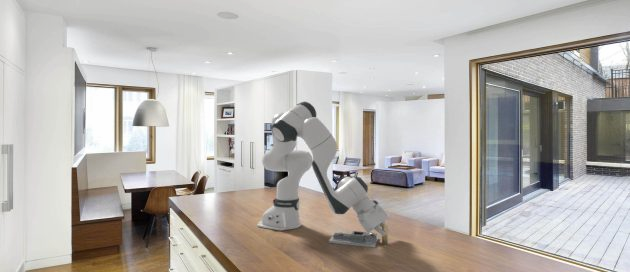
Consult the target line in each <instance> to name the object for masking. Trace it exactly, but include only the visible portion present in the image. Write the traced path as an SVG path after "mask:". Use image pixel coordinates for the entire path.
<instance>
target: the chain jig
mask: <svg viewBox="0 0 630 272" xmlns="http://www.w3.org/2000/svg"><path fill="white" fill-rule="evenodd" d="M378 240H379V236H378V233H375V232H369V233H368V232H367V231H359V230H353V231H352V232H351V233H346V232H342V231H341V232H334V233H333V235H332V236H331V237H330V239H329V240H328V244H329V243H330V244H340V245H348V246H349V245H350V246H355V247H356V246H357V247H358V246H359V247H367V248H376V247H377V246H376V245H377V243H378Z"/></svg>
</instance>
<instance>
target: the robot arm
mask: <svg viewBox="0 0 630 272" xmlns="http://www.w3.org/2000/svg"><path fill="white" fill-rule="evenodd" d="M271 136H272V147H271V148H270V149H269V150H267V151H266V152H264V154H263V156H262V161H261V162H262V165H263V168H264V169H265V170H267V171H272V172H287V173H288V175H287V176H285V177H284V178H281V179H280V180H278V181H277V183H276V197H275V198H274V199H273V200H272V201H271V203H272V204H273V205H271V206H270V207H269V208H268V209H266V210H265V212H263V214H262V217H261V220H259V222H258V223H257V225H256V226H257V227H258V228H264V229H270V230H276V231H286V230H287V231H288V230H293V229H299V228H300V227H301V226H302V223H301V218H300V198H299V188H300V187H299V186H300V185H299V184H300V182H301V179H302V177H303V176H304V174H305V173H306V172H308V171H309V170H310V169H311V168H312V170H313V173H314V174H315V177H316V179H317V181H318V183H319V185H320V188H321V190H322V191H323V193H324V196H325V199H326V201H327V204H328V205H327V206H328V207H329V208H330V210H331V211H332V212H333V213H334V214H335V215H345V214H346V213H347V212H348V211H349V210H350V209H351V208H352V210H353V211H354V212H355V214H356V215H357V216H356V217H357V218H358V219H357V220H358V222H359V224H360V225H361V226H362V228H363V229H364V232H366V233H371V232H372V231H373V230H375V231H376V232H377V233H378V234H380V235H381V237H382V236H384V235H385V234H386V232H385V231H384V230H382V225H387V224H386V223H385V222H386V221H387V220H389V216H388V213H387V212H386V211H385V210H384V208H382V206H381V205H380V202H379V201H377V200H376V199H371V198H370V197H369V196H368V195H367V194H368V192H369V191H368V190H369V186H368V185H367V183H366V182H365V181H364V180H363V179H362V177H359V176H353V177H350V176H346V177H343V178H342V179H341V180H340V181H339V183H337V189H335V190H334V188H333V186H332V184H331V182H330V180H329V177H328V169H329V167H330V165H331V163H332V162H333V160H334V159H335V157H336V155H337V152H338V144H337V141H336V139H335V138H334V136H333V134H332V132H331V131H330V130H329V129H328V127H327V126H326V124H324V123H323V122H322V121H321V120H320V119H319V118H318V117H317V111H316V108H315V107H314V106H313V104H311V102H308V101H302V102H301V101H300V102H299V103H297V104H296V105H295V106H293V107H291V108H290V109H288V110H287V111H286V112H279V113H276V114H275V115H274V116H273V117H272V120H271ZM297 138H301V139H302V140H304V142H305V145H306V146H307V147H308V148H309V150H310V152H311V153H310V152H309V151H306V150H303V149H302V150H301V149H295V148H296V146H297V140H298V139H297ZM389 232H390V229H388V233H389Z"/></svg>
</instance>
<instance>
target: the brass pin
mask: <svg viewBox="0 0 630 272" xmlns="http://www.w3.org/2000/svg"><path fill="white" fill-rule="evenodd" d="M381 229H382V230H384V231H385V232H386V234H385V235H384V236H382V235H381V244H382V245H386V246H387V245H388V243H389V241H388V240H389V239H388V238H389V237H388V235H389V234H388V233H389V232H388V230H389V225H388V224H386V225H382V227H381Z"/></svg>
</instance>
